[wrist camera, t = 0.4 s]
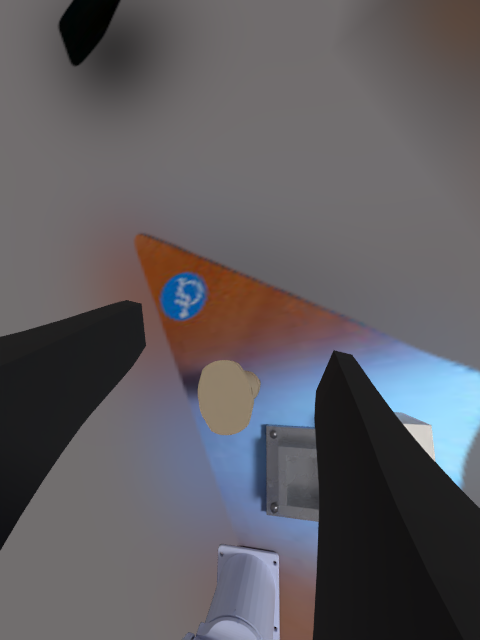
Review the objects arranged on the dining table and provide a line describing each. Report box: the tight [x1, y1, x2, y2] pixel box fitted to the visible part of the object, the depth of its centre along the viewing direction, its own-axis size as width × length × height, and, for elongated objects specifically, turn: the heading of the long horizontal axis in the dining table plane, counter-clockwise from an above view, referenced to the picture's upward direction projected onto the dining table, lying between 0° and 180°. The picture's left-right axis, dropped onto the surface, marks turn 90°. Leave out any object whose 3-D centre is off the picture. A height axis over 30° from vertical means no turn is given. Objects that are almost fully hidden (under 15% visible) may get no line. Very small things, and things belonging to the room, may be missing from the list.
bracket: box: [266, 425, 319, 522], centre depth 31 cm, size 11×11×4 cm
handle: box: [198, 360, 260, 435], centre depth 29 cm, size 5×6×15 cm
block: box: [394, 412, 435, 461], centre depth 29 cm, size 4×4×7 cm
